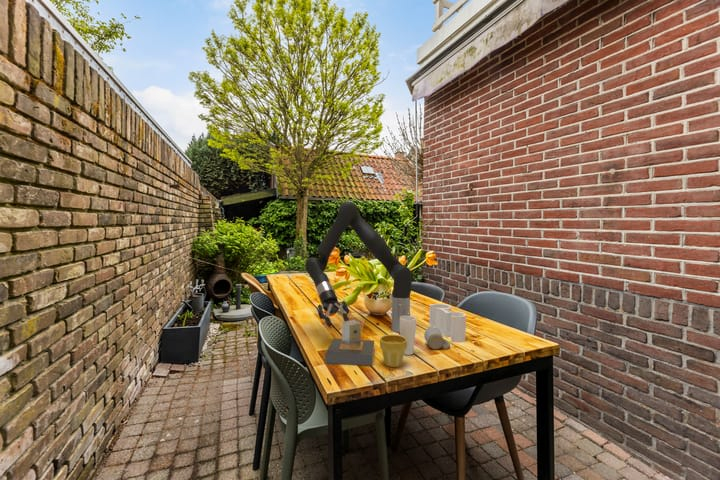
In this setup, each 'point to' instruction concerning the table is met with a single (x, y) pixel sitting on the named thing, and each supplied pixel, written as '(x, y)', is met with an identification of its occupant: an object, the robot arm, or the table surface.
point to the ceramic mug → (435, 338)
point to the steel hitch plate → (350, 353)
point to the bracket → (448, 322)
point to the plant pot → (393, 349)
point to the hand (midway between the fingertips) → (339, 324)
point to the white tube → (408, 332)
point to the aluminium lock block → (351, 334)
